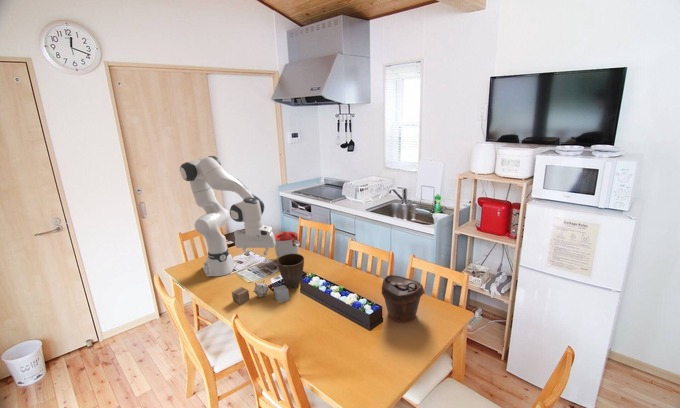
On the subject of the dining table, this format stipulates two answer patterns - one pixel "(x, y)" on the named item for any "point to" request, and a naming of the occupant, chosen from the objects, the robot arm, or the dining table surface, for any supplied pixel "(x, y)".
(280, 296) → the grey block
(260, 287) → the grey spiky ball
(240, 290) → the walnut block
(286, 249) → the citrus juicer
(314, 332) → the dining table surface
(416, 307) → the dark brown lidded bucket
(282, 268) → the plant pot
